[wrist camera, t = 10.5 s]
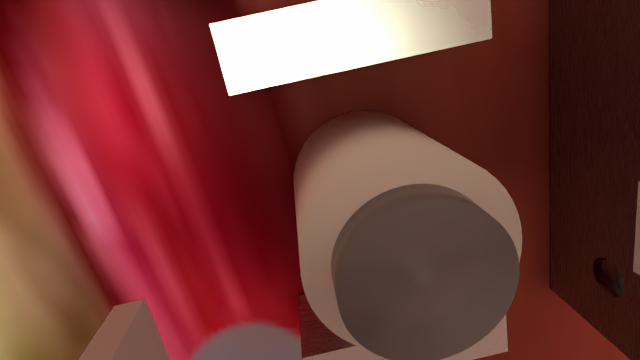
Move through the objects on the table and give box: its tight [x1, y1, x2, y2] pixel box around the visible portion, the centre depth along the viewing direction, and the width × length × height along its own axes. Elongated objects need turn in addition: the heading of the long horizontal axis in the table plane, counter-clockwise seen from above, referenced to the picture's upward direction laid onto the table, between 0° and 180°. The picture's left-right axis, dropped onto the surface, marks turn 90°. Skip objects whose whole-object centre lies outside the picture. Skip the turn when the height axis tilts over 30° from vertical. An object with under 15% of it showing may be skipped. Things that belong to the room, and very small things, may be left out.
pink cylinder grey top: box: [293, 110, 522, 360], centre depth 13 cm, size 6×6×8 cm
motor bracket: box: [209, 0, 640, 360], centre depth 13 cm, size 18×16×9 cm
